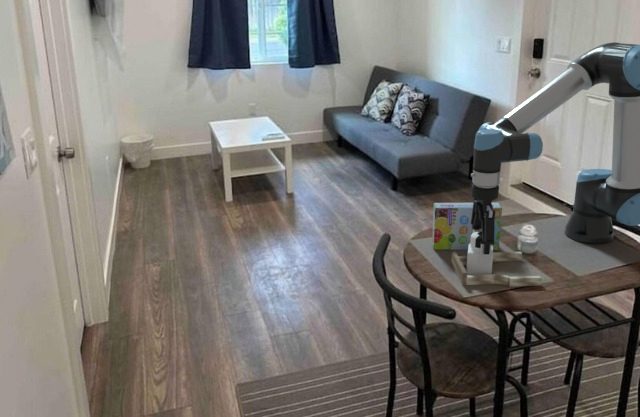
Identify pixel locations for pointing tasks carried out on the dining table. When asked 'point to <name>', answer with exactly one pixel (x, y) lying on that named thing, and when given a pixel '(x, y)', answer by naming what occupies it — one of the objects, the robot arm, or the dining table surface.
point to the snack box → (458, 226)
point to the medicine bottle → (477, 257)
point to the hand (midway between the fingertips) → (480, 256)
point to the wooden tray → (495, 278)
